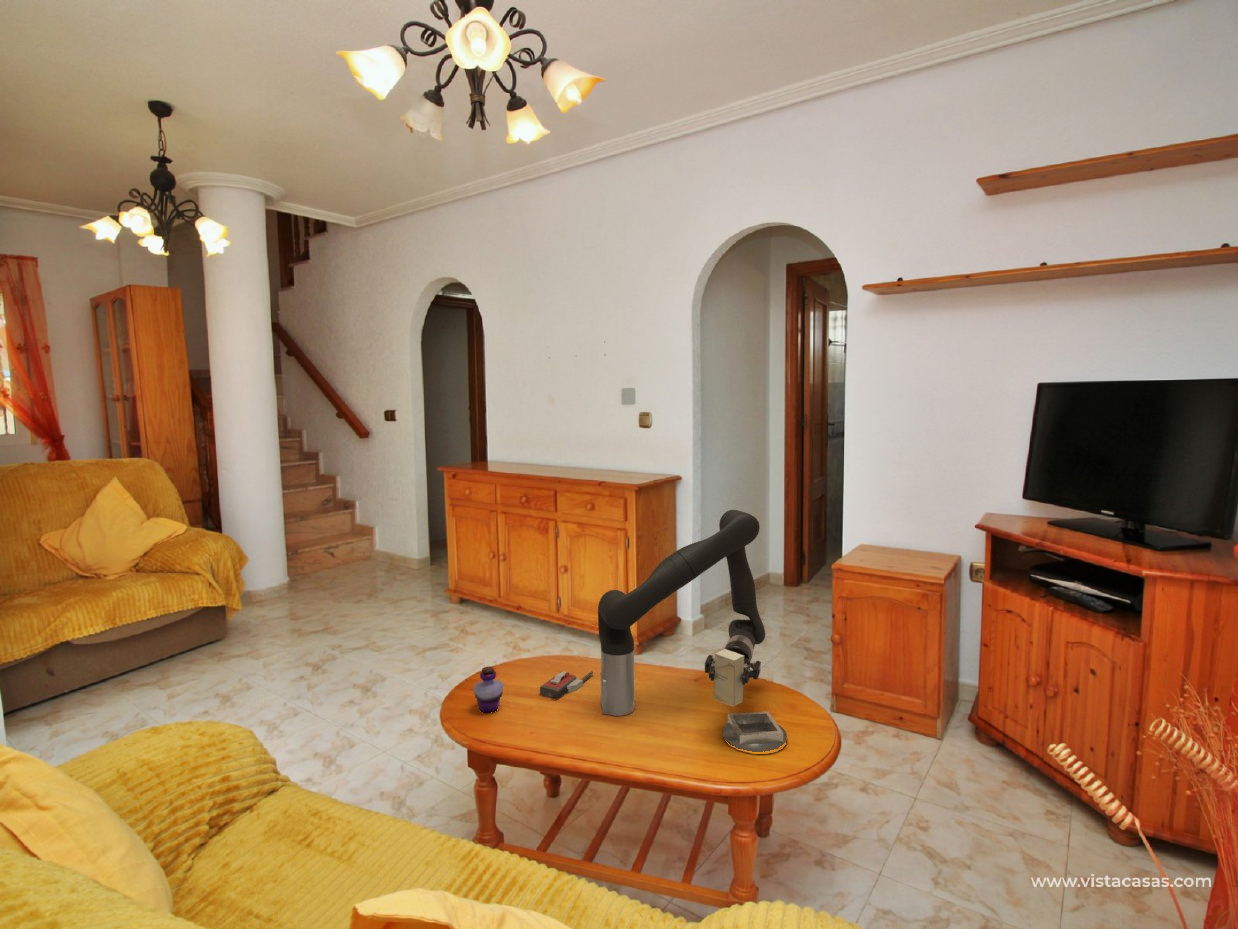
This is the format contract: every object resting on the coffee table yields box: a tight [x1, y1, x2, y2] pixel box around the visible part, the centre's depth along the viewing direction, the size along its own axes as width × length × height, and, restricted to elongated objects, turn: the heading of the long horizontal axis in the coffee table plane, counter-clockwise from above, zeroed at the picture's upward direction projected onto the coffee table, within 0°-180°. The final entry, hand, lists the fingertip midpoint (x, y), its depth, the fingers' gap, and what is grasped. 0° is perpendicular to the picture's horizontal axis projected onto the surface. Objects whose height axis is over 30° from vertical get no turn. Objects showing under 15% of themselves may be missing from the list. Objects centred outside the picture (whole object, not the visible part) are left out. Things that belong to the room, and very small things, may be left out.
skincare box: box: [713, 648, 744, 707], centre depth 165 cm, size 6×4×12 cm
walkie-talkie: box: [539, 670, 594, 700], centre depth 199 cm, size 9×4×20 cm
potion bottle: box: [472, 666, 505, 713], centre depth 184 cm, size 9×9×12 cm
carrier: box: [722, 711, 788, 752], centre depth 168 cm, size 16×16×4 cm
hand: (727, 679), depth 163 cm, fingers closed on skincare box, 7 cm apart
